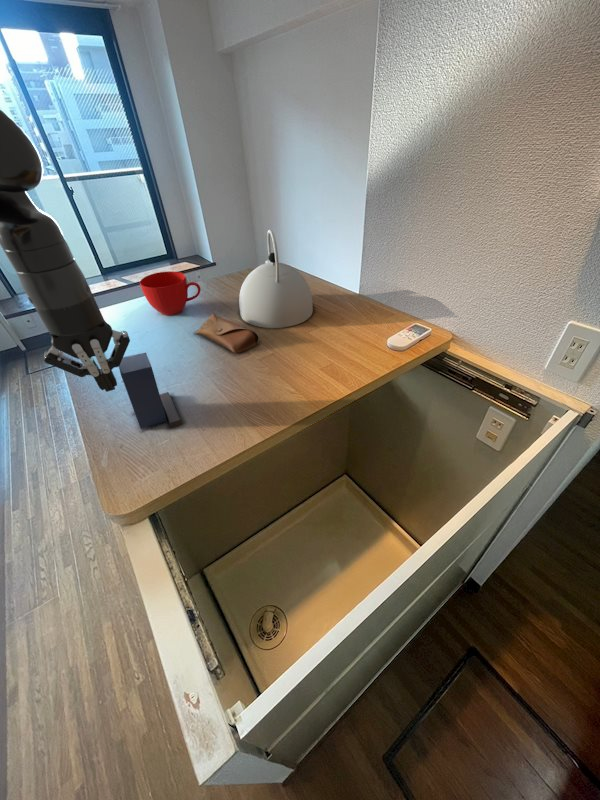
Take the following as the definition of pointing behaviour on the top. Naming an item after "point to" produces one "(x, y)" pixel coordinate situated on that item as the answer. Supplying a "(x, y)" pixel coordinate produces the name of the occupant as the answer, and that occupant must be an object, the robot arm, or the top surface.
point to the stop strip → (170, 409)
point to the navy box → (142, 390)
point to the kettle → (275, 294)
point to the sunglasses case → (228, 334)
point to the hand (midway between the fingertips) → (110, 388)
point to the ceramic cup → (167, 291)
